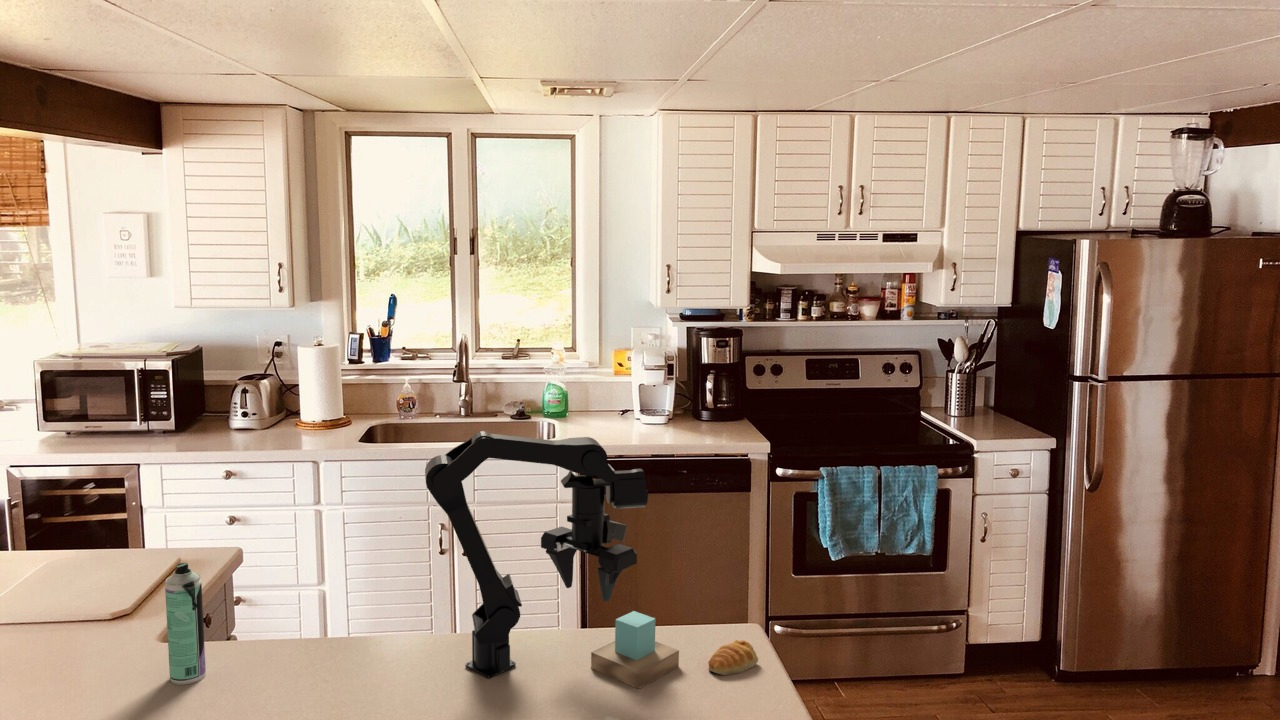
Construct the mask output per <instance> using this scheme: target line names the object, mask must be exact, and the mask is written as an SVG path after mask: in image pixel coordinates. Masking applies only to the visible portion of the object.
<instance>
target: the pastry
mask: <svg viewBox="0 0 1280 720" xmlns="http://www.w3.org/2000/svg"><path fill="white" fill-rule="evenodd" d="M758 662H759V657H758V656H757V652H756V651H755V649H754V646H753V645H752V644H751V643H750V642H748V641H746V640H738V639H736V640H734V641H732V642H730V643H728V644H724V645H722V646H720V647H719V648H718V649H717V650H716V651H715V652H714V653H713V654H712V655H711V657H710V659H709V660H708V663H707V664H708V671H709V672H713V673H715V674H719V675H722V676H727V675H732V674H740V673H742V672H745V671H747V670H750V669H751V667H752V668H753V666H754V667H755V666H756V665H757V663H758ZM749 668H750V669H749Z"/></svg>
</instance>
